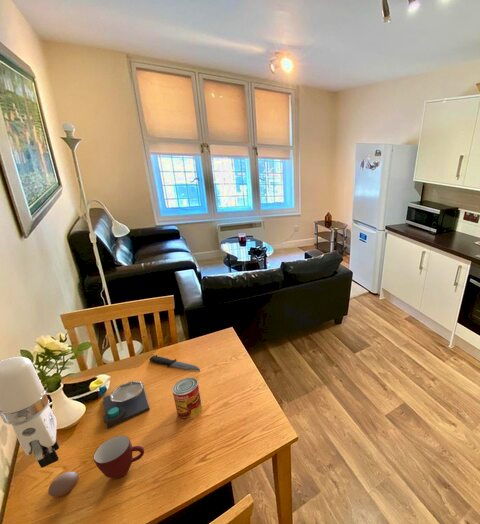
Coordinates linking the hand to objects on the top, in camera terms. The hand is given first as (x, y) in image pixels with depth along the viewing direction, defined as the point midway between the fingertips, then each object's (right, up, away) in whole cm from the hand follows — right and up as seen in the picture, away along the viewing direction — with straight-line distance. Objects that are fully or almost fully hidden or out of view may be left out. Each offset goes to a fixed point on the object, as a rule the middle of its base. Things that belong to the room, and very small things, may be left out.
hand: (50, 456), depth 75 cm
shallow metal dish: (-4, +2, +31) cm, 32 cm away
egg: (-1, -12, +5) cm, 13 cm away
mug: (+12, -11, +11) cm, 19 cm away
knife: (+3, +6, +50) cm, 50 cm away
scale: (-4, -2, +30) cm, 31 cm away
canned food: (+20, -4, +30) cm, 36 cm away
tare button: (-3, -2, +24) cm, 24 cm away
